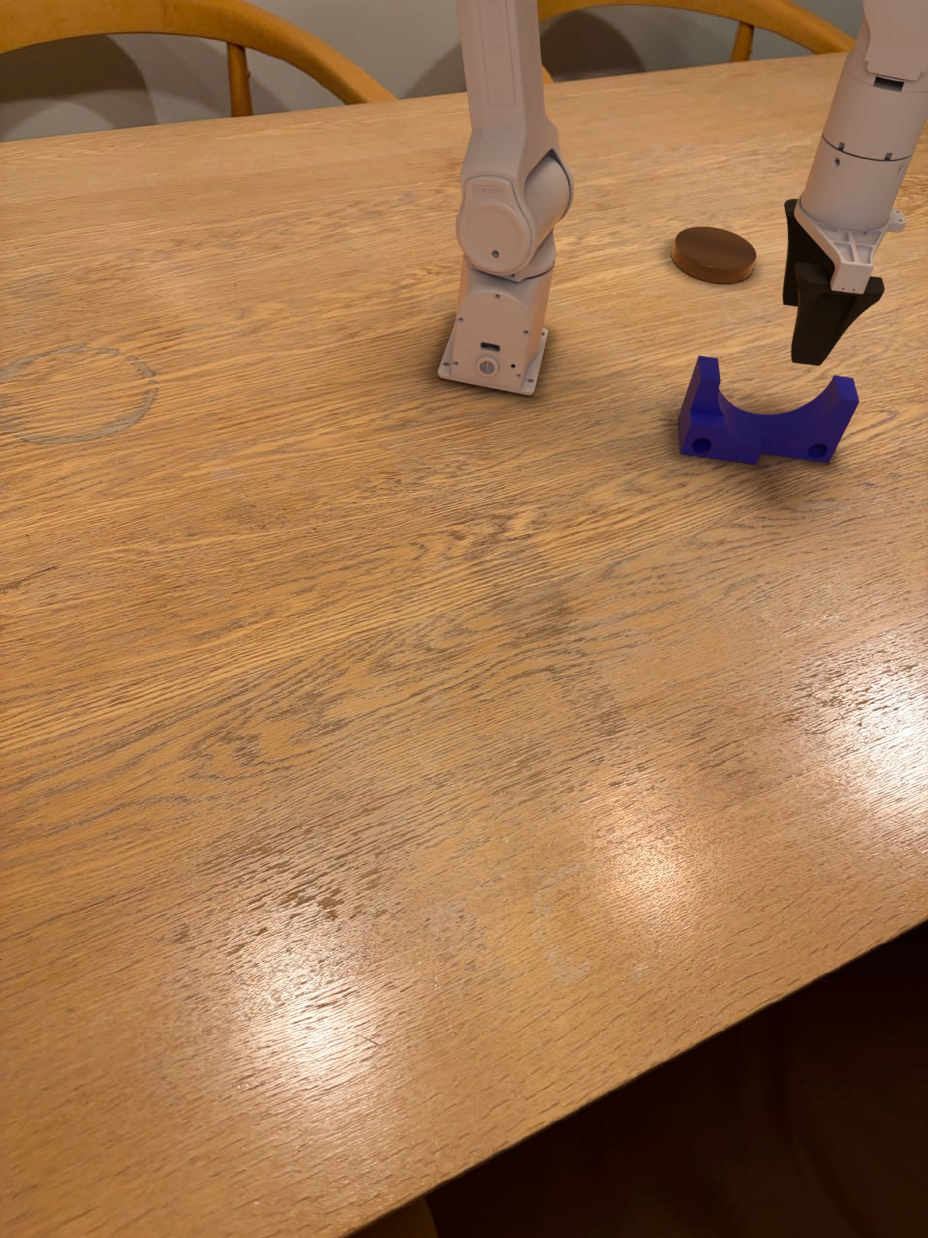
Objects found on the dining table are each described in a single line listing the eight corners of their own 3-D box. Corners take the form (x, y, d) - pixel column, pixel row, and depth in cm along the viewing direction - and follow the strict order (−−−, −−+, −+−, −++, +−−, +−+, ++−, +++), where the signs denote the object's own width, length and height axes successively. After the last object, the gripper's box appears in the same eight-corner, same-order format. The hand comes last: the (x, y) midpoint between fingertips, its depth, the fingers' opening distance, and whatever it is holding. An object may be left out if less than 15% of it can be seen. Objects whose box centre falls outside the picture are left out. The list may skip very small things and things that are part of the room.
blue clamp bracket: (680, 453, 77) (701, 390, 73) (677, 417, 80) (698, 355, 76) (831, 475, 77) (862, 414, 73) (823, 439, 80) (853, 377, 76)
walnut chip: (751, 290, 94) (757, 275, 93) (669, 274, 95) (673, 259, 94) (751, 248, 100) (756, 234, 98) (673, 234, 100) (676, 219, 99)
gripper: (955, 201, 57) (869, 397, 67) (913, 102, 66) (844, 287, 77) (831, 186, 57) (765, 384, 67) (808, 91, 67) (753, 276, 77)
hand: (800, 331), depth 72 cm, fingers open, 7 cm apart
